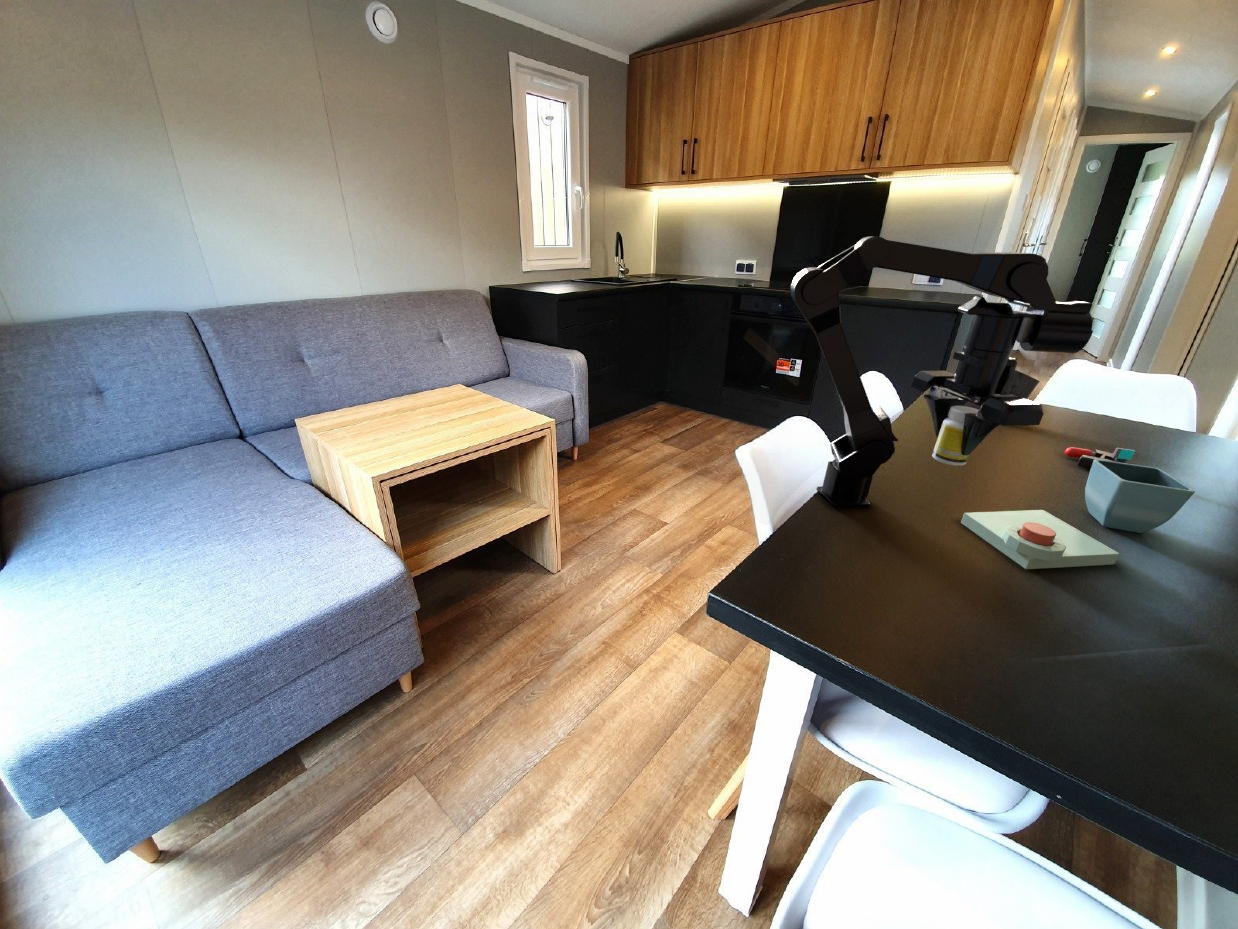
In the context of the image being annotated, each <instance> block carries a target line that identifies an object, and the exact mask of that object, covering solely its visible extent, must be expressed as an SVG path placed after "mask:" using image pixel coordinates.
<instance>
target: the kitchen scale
mask: <svg viewBox="0 0 1238 929" xmlns="http://www.w3.org/2000/svg"><path fill="white" fill-rule="evenodd" d="M1026 522H1033V523H1038V524H1042V525H1045V526H1047V527H1049V528H1051V529H1052V530H1054V531H1055V532H1056V536H1055V538H1054V540H1053V542H1052V544H1051V545H1050V546H1042V545H1037V544H1034V543H1031V542H1029V541H1026V540H1025V539H1023V538H1022V537H1020V536H1019V533H1020V531H1021V529H1022V526H1023V524H1024V523H1026ZM960 523H961V524H962V525H963V526H965V527H966V528H967V529H969V530H970V531H972V532H973V533H975V534H976V535H977V536H979V537H980V538H981V539H983V540H984V541H985V542H987V543H988V544H990V545H991V546H993V547H994V548H995V549H996V550H998V551H1000V552H1001V553H1002V554H1004V555H1005V556H1007V557H1008V558H1009V559H1011V560H1012V561H1014V562H1015V563H1016V564H1017V565H1019V566H1020V567H1022V568H1024V569H1025V570H1036V569H1039V570H1040V569H1053V568H1074V567H1091V566H1106V565H1108V566H1109V565H1111V566H1112V565H1115V564H1116V562H1117V560H1118V558H1119V556H1120V555H1121V554H1120V552H1118V551H1116V550H1114V549H1113V548H1111V547H1110V546H1107V545H1106V544H1104V543H1102V542H1100V541H1098V540H1097V539H1095V538H1093V537H1092V536H1090V535H1088V534H1086V533H1084V532H1083V531H1081V530H1079V529H1078V528H1075V527H1074V526H1072V525H1071V524H1068V523H1067V522H1065V521H1063V520H1062V519H1060V518H1058V517H1056V516H1055V515H1053V514H1051V513H1050V512H1048V511H1046V510H1044V509H1030V510H1029V509H1027V510H1004V511H1003V510H1002V511H1001V510H1000V511H976V512H964V513H963V515H962V518H961V520H960Z"/></svg>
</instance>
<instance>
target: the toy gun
mask: <svg viewBox="0 0 1238 929" xmlns="http://www.w3.org/2000/svg"><path fill="white" fill-rule="evenodd" d="M1135 452H1136V450H1135V449H1130V448H1123V447H1115V449H1114V451H1113V452H1109V451H1104V450H1100V449H1094V451H1092V450H1091V449H1087V448H1086V449H1085V448H1080V447H1074V446H1069V447H1066V449H1065V450H1064V454H1065V456H1066V457H1068V458H1074V459H1078V460H1077V463H1076V465H1077V466H1078V467H1081V468H1086V469H1090V470H1091V467H1092V464H1093V461H1094V460H1095V459H1097V460H1105V461H1112V462H1119V463H1126V464H1127V461H1131V460H1132V458H1133V456H1134V454H1135Z"/></svg>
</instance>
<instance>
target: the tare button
mask: <svg viewBox="0 0 1238 929" xmlns="http://www.w3.org/2000/svg"><path fill="white" fill-rule="evenodd" d="M1019 536H1020V537H1022V538H1023V539H1025V540H1026V541H1029V542H1031V543H1034V544H1037V545H1042V546H1050V545H1051V544H1052V542H1053V540H1054V538H1055V536H1056V532H1055V531H1054V530H1052V529H1051V528H1049V527H1047V526H1045V525H1042V524H1038V523H1033V522H1026V523H1024V524H1023V526H1022V529H1021V531H1020V533H1019Z"/></svg>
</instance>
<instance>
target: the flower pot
mask: <svg viewBox="0 0 1238 929" xmlns="http://www.w3.org/2000/svg"><path fill="white" fill-rule="evenodd" d="M1195 493H1196V490H1194V489H1193V488H1191V487H1190V486H1188V485H1187V484H1185V483H1183V482H1182V481H1180V480H1178V479H1177V478H1175V477H1174V476H1172V475H1171V474H1169V473H1168V472H1166V471H1164V470H1163V469H1161V468H1159V467H1152V466H1147V465H1146V466H1145V465H1139V464H1131V463H1127V462H1126V463H1119V462H1112V461H1105V460H1097V459H1095V460H1094V461H1093V464H1092V467H1091V469H1090V470H1089V474H1088V478H1087V480H1086V483H1085V488H1084V499H1085V504H1086V507H1087V508H1086V509H1087V511H1088V513H1089V514H1090V515H1091V516H1092V517H1093V518H1094V519H1095V520H1096V521H1097V522H1098V523H1099V524H1100V525H1101V526H1102V527H1104V528H1108V529H1115V530H1120V531H1126V532H1133V533H1137V534H1143V533H1146V532H1149V531H1152V530H1155V529H1156V528H1158V527H1160V526H1161V527H1162V526H1163V525H1164V524H1165V523H1167V522H1168V521H1170V520H1171V519H1172V518H1173V517H1174V516H1176V514H1177V513H1178V512H1179V511H1180V510H1181V509H1182V508H1183V507H1184V505H1185V504H1186V503H1187V502H1188V501H1189V500H1190V498H1192V496H1193V495H1194V494H1195Z"/></svg>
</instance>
